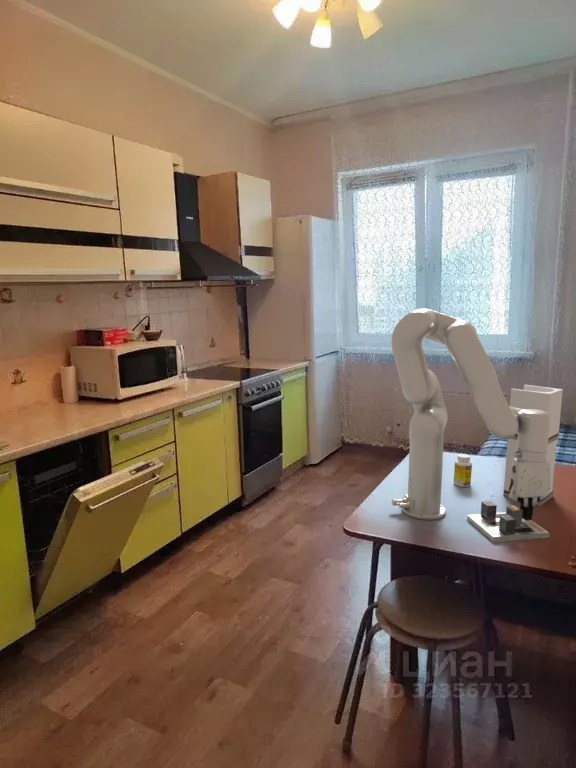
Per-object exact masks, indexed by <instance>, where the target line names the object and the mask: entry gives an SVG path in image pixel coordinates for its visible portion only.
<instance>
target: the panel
mask: <svg viewBox="0 0 576 768" xmlns="http://www.w3.org/2000/svg"><path fill="white" fill-rule="evenodd" d="M480 503H481V504H480V506H481V507H480V513H475V514H473V513H472V514H467V516H466V520H467V521H468V522H469V523H470V524H471V525H472V526H474V528H475V529H477V530H478V531H479V532H480V533H482V534H483V535H484V536H485V537H486V538H487V539H488V540H489V541H490V542H492V543H500V542H501V543H502V542H513V541H525V540H540V539H539V538H541V539H548V538H547V537H550V532H549V531H547V530H546V529H545V528H543V527H541V525H539V524H537V523H536V522H535V521H533V519H532V520H525V519H523V518H522V524H516V519H515V518H513V517H512V516H511V515H506V511H505V512H504V511H503V512H497V506H498V505H497V504H496V503H494V502H493V501H492V500H488V501H487V500H485V501H484V500H483V501H481V502H480Z"/></svg>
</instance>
